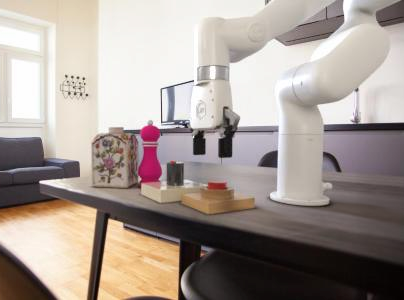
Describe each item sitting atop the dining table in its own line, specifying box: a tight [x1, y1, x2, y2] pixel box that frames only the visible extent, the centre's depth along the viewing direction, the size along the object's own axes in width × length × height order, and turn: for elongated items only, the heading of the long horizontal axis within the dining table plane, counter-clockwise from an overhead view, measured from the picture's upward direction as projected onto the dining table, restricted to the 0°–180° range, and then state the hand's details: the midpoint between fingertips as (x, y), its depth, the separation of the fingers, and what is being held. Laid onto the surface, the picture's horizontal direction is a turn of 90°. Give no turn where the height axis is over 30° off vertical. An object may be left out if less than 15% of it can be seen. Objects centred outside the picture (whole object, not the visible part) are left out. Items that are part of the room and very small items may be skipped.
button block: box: [181, 184, 255, 215], centre depth 64 cm, size 12×10×4 cm
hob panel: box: [140, 179, 207, 204], centre depth 74 cm, size 14×11×3 cm
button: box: [207, 179, 228, 190], centre depth 64 cm, size 4×4×2 cm
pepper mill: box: [138, 119, 163, 188], centre depth 87 cm, size 7×7×20 cm
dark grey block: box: [166, 160, 185, 186], centre depth 74 cm, size 4×4×6 cm
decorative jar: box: [90, 126, 140, 189], centre depth 91 cm, size 12×12×18 cm
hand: (211, 156), depth 65 cm, fingers open, 9 cm apart
